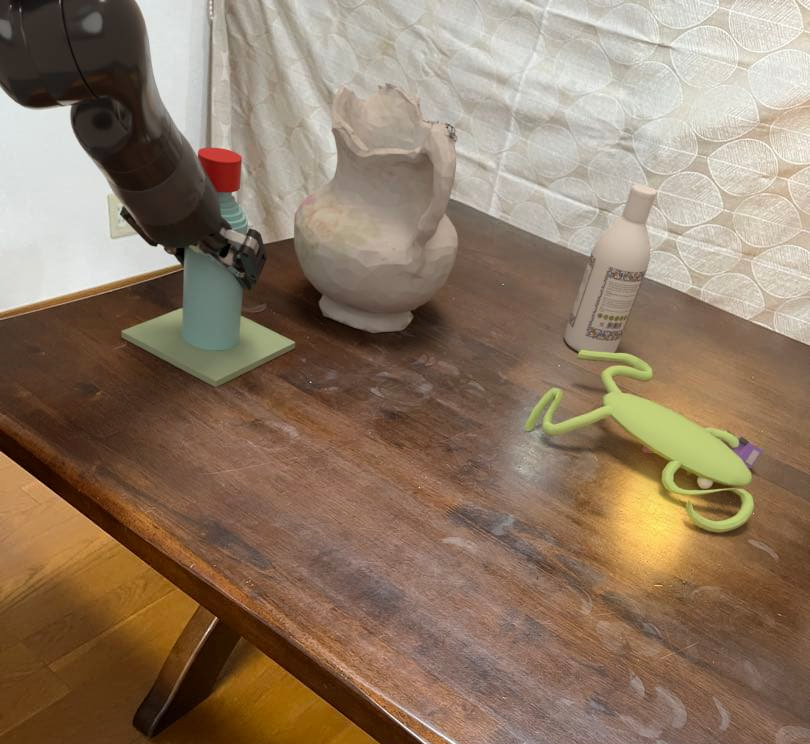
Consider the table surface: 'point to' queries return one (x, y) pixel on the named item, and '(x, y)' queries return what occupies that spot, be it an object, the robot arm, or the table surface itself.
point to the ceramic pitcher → (380, 212)
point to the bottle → (213, 291)
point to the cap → (222, 168)
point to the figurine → (664, 438)
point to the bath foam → (612, 278)
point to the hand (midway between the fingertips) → (221, 271)
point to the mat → (205, 364)
